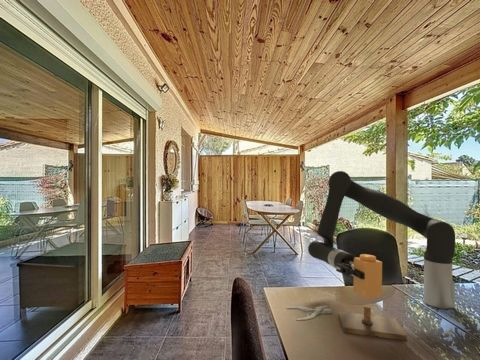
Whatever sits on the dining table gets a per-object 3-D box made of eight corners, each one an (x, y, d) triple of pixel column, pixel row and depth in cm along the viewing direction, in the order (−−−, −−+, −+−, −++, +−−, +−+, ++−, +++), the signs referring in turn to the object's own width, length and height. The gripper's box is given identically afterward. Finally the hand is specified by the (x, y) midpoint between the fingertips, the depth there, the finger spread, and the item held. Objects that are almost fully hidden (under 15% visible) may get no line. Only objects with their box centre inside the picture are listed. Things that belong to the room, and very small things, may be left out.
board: (394, 322, 92) (394, 303, 92) (406, 340, 82) (407, 318, 82) (338, 315, 96) (339, 297, 96) (343, 332, 86) (343, 311, 86)
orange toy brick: (368, 289, 93) (369, 253, 93) (381, 296, 87) (382, 258, 87) (353, 290, 91) (354, 253, 91) (365, 297, 85) (365, 258, 86)
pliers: (286, 304, 102) (322, 301, 105) (286, 308, 102) (322, 305, 105) (297, 317, 92) (337, 313, 95) (297, 322, 92) (336, 318, 95)
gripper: (325, 251, 102) (353, 265, 85) (359, 250, 105) (392, 263, 88) (324, 271, 101) (352, 289, 85) (358, 270, 105) (391, 286, 88)
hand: (372, 275), depth 87 cm, fingers closed on orange toy brick, 6 cm apart
